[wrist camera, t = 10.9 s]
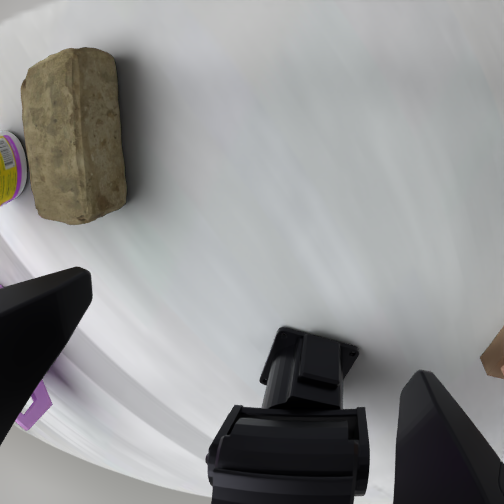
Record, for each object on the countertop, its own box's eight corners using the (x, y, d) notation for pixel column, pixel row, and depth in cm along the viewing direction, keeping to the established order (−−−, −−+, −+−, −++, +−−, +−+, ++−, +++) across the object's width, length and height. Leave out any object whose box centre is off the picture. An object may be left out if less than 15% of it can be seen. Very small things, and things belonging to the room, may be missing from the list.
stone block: (121, 46, 17) (73, 40, 12) (137, 205, 22) (97, 233, 18) (61, 67, 18) (13, 69, 14) (78, 207, 23) (37, 232, 19)
